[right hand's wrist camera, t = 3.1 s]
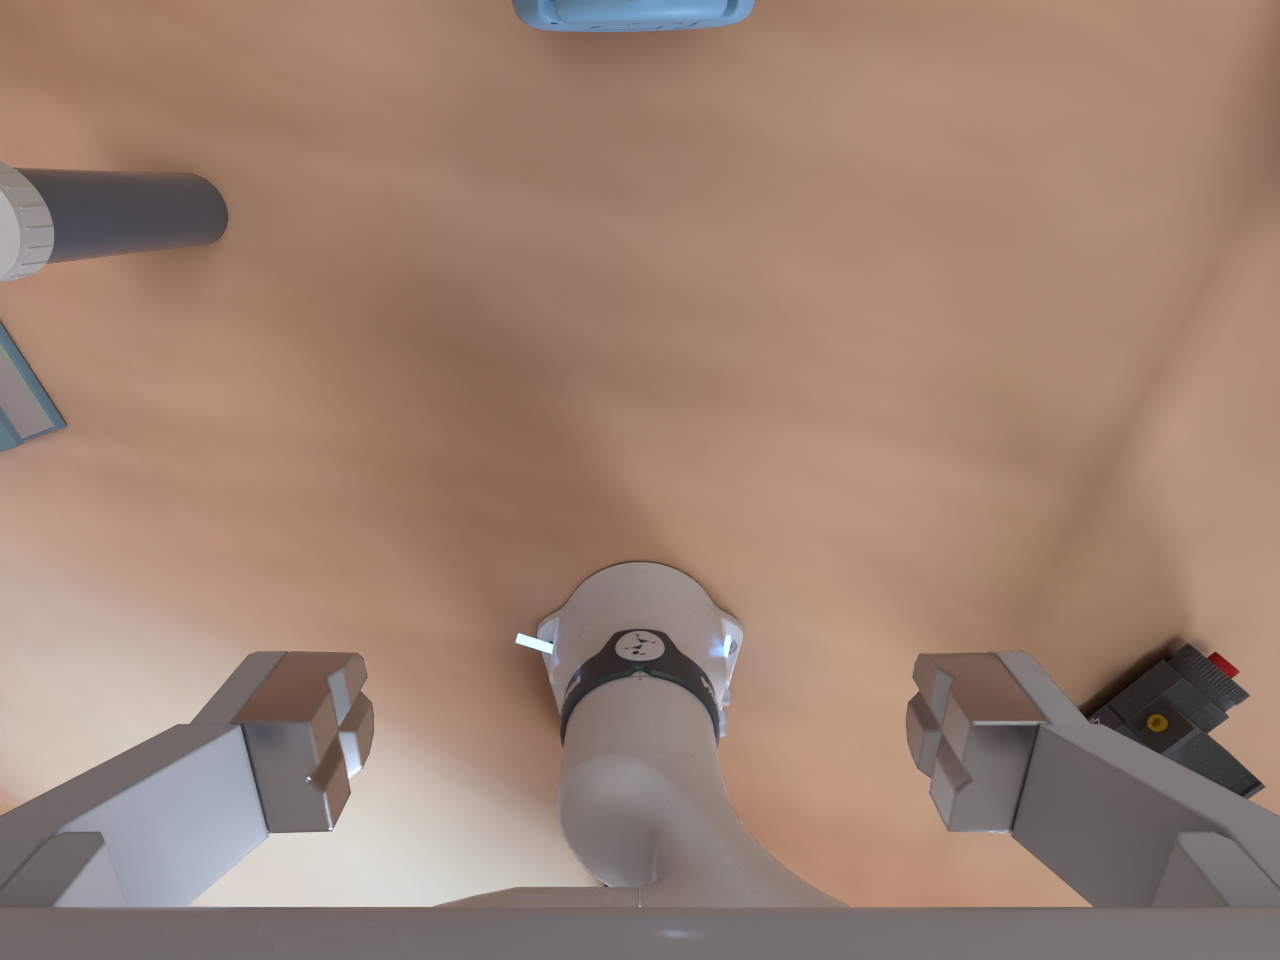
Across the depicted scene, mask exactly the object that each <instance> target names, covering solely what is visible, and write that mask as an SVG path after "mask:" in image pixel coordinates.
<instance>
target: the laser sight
mask: <svg viewBox="0 0 1280 960" xmlns="http://www.w3.org/2000/svg"><path fill="white" fill-rule="evenodd" d="M1238 673H1239V671H1238V670H1237V669H1236V668H1235V667H1234V666H1233V665H1231V664H1230V663H1229V662H1228V661H1227V660H1225V659H1224V658H1223V657H1222V656H1220V655H1219V654H1218V653H1217V652H1214V653H1213V654H1212V655H1210V656H1209V657H1208V658H1206V657H1204V656H1203V655H1202V654H1201V653H1200V652H1198V651H1197V650H1196V649H1195V648H1194V647H1192V646H1191V645H1190V644H1186V645H1185V646H1184V647H1182V648H1181V649H1180V650H1179V651H1177V652H1176V655H1175V656H1173V657H1172V658H1171V659H1170V660H1169V661H1167V662H1166V661H1165V660H1164V659H1162V660H1160V661H1159V662H1158V663H1157V664H1155V665H1154V666H1153V667H1151V668H1150V669H1149V670H1148V671H1146V672H1145V673H1144V674H1143V675H1141V676H1140V677H1139V678H1138V679H1136V680H1135V681H1134V682H1132V683H1131V684H1130V685H1129V686H1127V687H1126V688H1125V689H1124V690H1122V691H1121V692H1120V693H1118V694H1117V695H1116V696H1115V697H1113V698H1112V699H1111V700H1110V701H1108V702H1107V703H1106V704H1104V705H1103V706H1102V707H1101V708H1099V709H1098V710H1097V711H1096V712H1094V713H1093V714H1092V715H1091V716H1089V717H1088V718H1087V720H1088V722H1089V723H1090V724H1102V725H1104V726H1106V727H1108V728H1110V729H1112V730H1114V731H1116V732H1118V733H1120V734H1122V735H1124V736H1126V737H1128V738H1130V739H1131V740H1133V741H1135V742H1137V743H1139V744H1141V745H1143V746H1145V747H1147V748H1149V749H1151V750H1153V751H1155V752H1157V753H1159V754H1160V755H1162V756H1164V757H1166V758H1168V759H1170V760H1172V761H1174V762H1176V763H1178V764H1180V765H1182V766H1184V767H1186V768H1188V769H1189V770H1191V771H1193V772H1195V773H1197V774H1199V775H1201V776H1203V777H1205V778H1207V779H1209V780H1211V781H1213V782H1215V783H1217V784H1218V785H1220V786H1222V787H1224V788H1226V789H1228V790H1230V791H1232V792H1234V793H1236V794H1238V795H1240V796H1242V797H1244V798H1245V799H1249V798H1250V797H1252V796H1253V795H1255V794H1256V793H1258V792H1259V791H1261V790H1262V789H1263V788H1265V787H1266V786H1264V785H1263V784H1262V783H1261V782H1260V781H1259V780H1258V779H1257V778H1256V777H1255V776H1254V775H1253V774H1252V773H1250V772H1249V771H1248V770H1247V769H1246V768H1245V767H1244V766H1243V765H1242V764H1241V763H1240V762H1239V761H1238V760H1237V759H1235V758H1234V757H1233V756H1232V755H1231V754H1230V753H1229V752H1228V751H1227V750H1226V749H1224V748H1223V747H1222V746H1221V745H1220V744H1218V743H1217V742H1216V741H1215V740H1213V739H1212V738H1211V737H1210V736H1209V735H1208V734H1207V733H1209V732H1210V731H1211V730H1213V729H1214V728H1215V727H1217V726H1218V725H1219V724H1221V723H1222V722H1223V721H1225V720H1226V719H1228V718H1229V716H1228V715H1227V714H1226V713H1225V712H1226V711H1227V710H1229V709H1230V708H1231V707H1233V706H1234V705H1238V704H1240V703H1241V702H1242V701H1244V700H1245V699H1246V698H1248V697H1249V696H1250V695H1249V694H1248V693H1247V692H1246V691H1245V690H1243V689H1242V688H1241V687H1240V686H1239V685H1238V684H1237V683H1235V682H1234V681H1233V680H1232V678H1233V677H1234V676H1235V675H1237V674H1238Z"/></svg>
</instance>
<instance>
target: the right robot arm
mask: <svg viewBox="0 0 1280 960" xmlns="http://www.w3.org/2000/svg"><path fill="white" fill-rule="evenodd" d="M537 639H538V640H537ZM537 639H534V638H531V637H528V636H525V635H522V634H518V636H517V640H516V643H519V644H523V645H526V646H529V647H532V648H535V649H538V650H541V653H542V656H543V660H544V663H545V666H546V670H547V673H548V676H549V680H550V683H551V687H552V690H553V693H554V697H555V700H556V704H557V707H558V710H559V714H560V722H561V727H560V736H561V742H562V746H563V754H562V761H561V769H560V776H559V784H558V791H557V799H556V813H557V820H558V824H559V827H560V831H561V833H562V835H563V837H564V840H565V841H566V843H567V845H568V846H569V848H570V850H571V851H572V853H573V854H574V855H575V857H576V858H577V860H578V861H579V862H580V864H581V865H582V866H583V867H584V868H585V869H586V870H587V871H588V872H589V873H590V874H591V875H592V876H594V877H595V878H596V879H598V880H599V881H601V882H603V883H604V885H605V887H515V888H510V889H505V890H500V891H495V892H490V893H485V894H480V895H475V896H471V897H467V898H463V899H459V900H455V901H451V902H447V903H443V904H439V905H436V906H433V907H187V906H188V905H189V904H190V903H191V902H193V901H194V900H195V899H196V898H197V897H198V896H200V895H201V894H202V893H203V892H204V891H205V890H207V889H208V888H209V887H210V886H211V885H212V884H214V883H215V882H216V881H217V880H218V879H220V878H221V877H222V876H223V875H224V874H225V873H227V872H228V871H229V870H230V869H231V868H232V867H234V866H235V865H236V864H237V863H238V862H239V861H241V860H242V859H243V858H244V857H245V856H246V855H248V854H249V853H250V852H251V851H252V850H253V849H255V848H256V847H257V846H258V845H259V844H260V843H262V842H263V841H264V840H265V839H266V838H268V833H293V832H328V831H333V828H334V826H335V824H336V822H337V820H338V818H339V816H340V814H341V812H342V810H343V808H344V806H345V804H346V802H347V800H348V798H349V796H350V794H351V791H350V786H349V780H348V779H349V778H350V777H351V776H353V775H354V774H356V773H357V772H358V771H360V770H361V769H363V766H364V764H365V762H366V760H367V758H368V755H369V753H370V749H371V744H372V739H373V734H374V713H373V707H372V702H371V701H370V700H369V699H368V698H367V697H366V696H365V695H364V694H363V693H362V692H361V691H360V690H361V688H362V686H363V685H364V683H365V681H366V679H367V672H366V667H365V663H364V658H363V657H362V656H361V655H360V654H358V653H345V652H298V651H292V652H287V651H257V652H254V653H252V654H249V655H248V656H247V657H246V658H245V659H244V661H243V662H242V663H241V664H240V665H239V666H238V668H237V669H236V670H235V671H234V672H233V673H232V675H231V676H230V677H229V678H228V679H227V680H226V682H225V683H224V684H223V685H222V686H221V687H220V689H219V690H218V691H217V692H216V693H215V695H214V696H213V697H212V698H211V699H210V700H209V702H208V703H207V704H206V705H205V706H204V707H203V709H202V710H201V711H200V712H199V713H198V714H197V716H196V717H195V718H194V719H193V720H192V722H191V723H190V724H178V725H176V726H174V727H172V728H170V729H168V730H166V731H164V732H162V733H160V734H158V735H156V736H154V737H152V738H150V739H148V740H147V741H145V742H143V743H141V744H139V745H137V746H135V747H133V748H131V749H129V750H127V751H125V752H123V753H121V754H119V755H117V756H115V757H114V758H112V759H110V760H108V761H106V762H104V763H102V764H100V765H98V766H96V767H94V768H92V769H90V770H88V771H86V772H84V773H83V774H81V775H79V776H77V777H75V778H73V779H71V780H69V781H67V782H65V783H63V784H61V785H59V786H57V787H55V788H53V789H52V790H50V791H48V792H46V793H44V794H42V795H40V796H38V797H36V798H34V799H32V800H30V801H28V802H26V803H24V804H22V805H21V806H19V807H17V808H15V809H13V810H11V811H9V812H7V813H5V814H3V815H1V816H0V960H1280V816H1278V815H1276V814H1274V813H1273V812H1271V811H1269V810H1267V809H1265V808H1263V807H1261V806H1259V805H1257V804H1255V803H1253V802H1251V801H1249V800H1247V799H1245V798H1244V797H1242V796H1240V795H1238V794H1236V793H1234V792H1232V791H1230V790H1228V789H1226V788H1224V787H1222V786H1220V785H1218V784H1217V783H1215V782H1213V781H1211V780H1209V779H1207V778H1205V777H1203V776H1201V775H1199V774H1197V773H1195V772H1193V771H1191V770H1189V769H1188V768H1186V767H1184V766H1182V765H1180V764H1178V763H1176V762H1174V761H1172V760H1170V759H1168V758H1166V757H1164V756H1162V755H1160V754H1159V753H1157V752H1155V751H1153V750H1151V749H1149V748H1147V747H1145V746H1143V745H1141V744H1139V743H1137V742H1135V741H1133V740H1131V739H1130V738H1128V737H1126V736H1124V735H1122V734H1120V733H1118V732H1116V731H1114V730H1112V729H1110V728H1108V727H1106V726H1104V725H1102V724H1090V723H1089V722H1088V720H1087V719H1086V718H1085V717H1084V716H1083V715H1082V713H1081V712H1080V711H1079V710H1078V709H1077V707H1076V706H1075V705H1074V704H1073V703H1072V702H1071V700H1070V699H1069V698H1068V697H1067V696H1066V695H1065V693H1064V692H1063V691H1062V690H1061V689H1060V688H1059V686H1058V685H1057V684H1056V683H1055V682H1054V681H1053V679H1052V678H1051V677H1050V676H1049V675H1048V674H1047V672H1046V671H1045V670H1044V669H1043V668H1042V666H1041V665H1040V664H1039V663H1038V662H1037V661H1036V659H1035V658H1034V657H1033V656H1032V655H1031V654H1029V653H1027V652H1025V651H1001V652H988V653H928V654H919V656H918V658H917V660H916V662H915V666H914V671H913V679H914V681H915V683H916V685H917V686H918V688H919V690H920V691H919V692H918V693H917V694H916V695H915V696H914V697H913V698H912V699H911V700H910V701H909V702H908V707H907V715H906V731H907V742H908V745H909V749H910V752H911V755H912V758H913V760H914V762H915V764H916V766H917V769H919V770H920V771H922V772H923V773H924V774H926V775H927V776H929V777H930V778H931V779H932V780H931V786H930V791H929V794H930V796H931V798H932V800H933V802H934V804H935V806H936V808H937V810H938V812H939V814H940V816H941V818H942V820H943V822H944V824H945V826H946V828H947V830H948V831H951V832H986V833H1012V835H1011V836H1012V837H1013V838H1014V839H1015V840H1016V841H1018V842H1019V843H1020V844H1021V845H1022V846H1023V847H1025V848H1026V849H1027V850H1028V851H1029V852H1030V853H1032V854H1033V855H1034V856H1035V857H1036V858H1037V859H1039V860H1040V861H1041V862H1042V863H1043V864H1044V865H1046V866H1047V867H1048V868H1049V869H1050V870H1051V871H1053V872H1054V873H1055V874H1056V875H1057V876H1058V877H1060V878H1061V879H1062V880H1063V881H1064V882H1065V883H1067V884H1068V885H1069V886H1070V887H1071V888H1072V889H1074V890H1075V891H1076V892H1077V893H1078V894H1079V895H1081V896H1082V897H1083V898H1084V899H1085V900H1086V901H1088V902H1089V903H1090V904H1091V905H1092V906H1093V907H851V906H849V905H848V904H846V903H844V902H842V901H840V900H838V899H836V898H834V897H832V896H830V895H828V894H826V893H824V892H822V891H820V890H819V889H817V888H815V887H814V886H812V885H810V884H809V883H807V882H805V881H804V880H802V879H801V878H800V877H798V876H797V875H796V874H794V873H793V872H791V871H790V870H789V869H787V868H786V867H785V866H784V865H783V864H782V863H780V862H779V861H778V860H777V859H776V858H774V857H773V856H772V855H771V854H770V853H769V852H768V851H767V850H766V849H765V848H764V847H763V846H762V845H761V844H760V843H759V842H758V840H757V839H756V838H755V837H754V836H753V835H752V834H751V833H750V832H749V830H748V829H747V828H746V826H745V825H744V824H743V823H742V821H741V820H740V818H739V817H738V815H737V814H736V812H735V810H734V808H733V807H732V805H731V803H730V800H729V798H728V795H727V791H726V788H725V784H724V780H723V776H722V772H721V767H720V763H719V757H718V752H717V746H718V742H719V737H721V738H722V737H724V736H725V734H726V731H727V712H725V711H723V710H722V707H723V706H725V705H726V706H728V705H729V703H730V698H731V692H730V690H729V689H728V687H729V683H730V680H731V677H732V673H733V670H734V666H735V663H736V660H737V656H738V653H739V650H740V646H741V643H742V639H743V627H742V624H741V623H740V622H739V621H738V620H737V619H736V618H734V617H733V616H731V615H729V614H728V613H726V612H724V611H722V610H720V609H719V608H718V607H717V606H716V605H715V604H714V603H713V601H712V600H711V598H710V597H709V596H708V594H707V593H706V592H705V590H704V589H703V588H702V587H701V586H700V585H699V584H698V583H697V582H696V581H694V580H693V579H692V578H690V577H689V576H687V575H686V574H684V573H682V572H680V571H678V570H676V569H674V568H671V567H668V566H665V565H661V564H656V563H649V562H631V563H624V564H619V565H615V566H612V567H609V568H606V569H604V570H602V571H600V572H598V573H596V574H594V575H593V576H591V577H590V578H588V579H587V580H586V581H584V582H583V583H582V584H581V585H580V586H579V587H578V588H577V589H576V590H575V592H574V593H573V594H572V596H571V597H570V599H569V600H568V601H567V603H566V604H565V605H564V606H563V607H562V608H561V609H560V610H558V611H556V612H554V613H552V614H551V615H549V616H547V617H546V618H544V619H543V620H542V621H541V622H540V623H539V624H538V627H537ZM551 641H553V644H550V643H549V642H551ZM639 906H641V907H639Z"/></svg>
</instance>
